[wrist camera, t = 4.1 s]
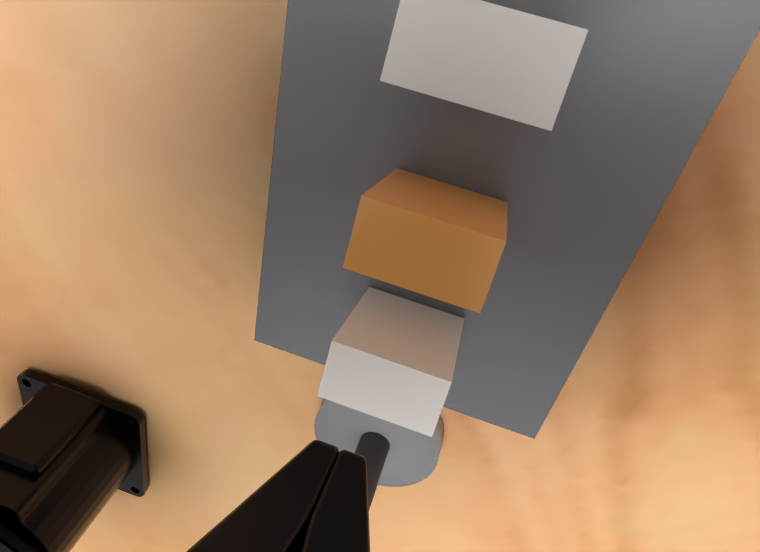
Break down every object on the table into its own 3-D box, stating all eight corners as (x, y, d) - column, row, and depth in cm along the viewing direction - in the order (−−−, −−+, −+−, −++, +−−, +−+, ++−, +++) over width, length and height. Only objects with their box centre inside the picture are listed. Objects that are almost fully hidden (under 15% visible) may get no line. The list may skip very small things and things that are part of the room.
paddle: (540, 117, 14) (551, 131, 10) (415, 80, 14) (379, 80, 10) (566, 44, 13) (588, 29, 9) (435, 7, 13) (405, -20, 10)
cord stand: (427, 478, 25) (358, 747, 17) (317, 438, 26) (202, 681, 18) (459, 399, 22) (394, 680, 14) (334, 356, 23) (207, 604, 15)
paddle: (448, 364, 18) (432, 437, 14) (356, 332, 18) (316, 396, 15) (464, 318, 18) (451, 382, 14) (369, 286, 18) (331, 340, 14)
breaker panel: (537, 396, 21) (534, 438, 20) (277, 307, 22) (254, 339, 21) (761, -33, 13) (787, -22, 11) (334, -141, 14) (302, -145, 12)
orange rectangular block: (487, 259, 16) (480, 313, 12) (381, 224, 16) (342, 267, 12) (507, 202, 15) (506, 241, 12) (397, 168, 16) (361, 195, 12)
